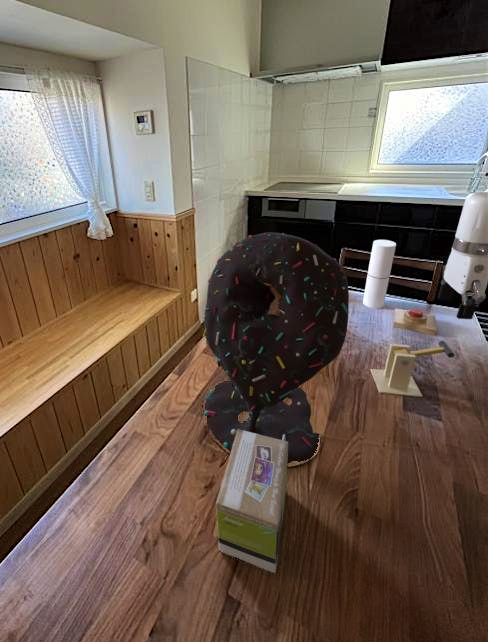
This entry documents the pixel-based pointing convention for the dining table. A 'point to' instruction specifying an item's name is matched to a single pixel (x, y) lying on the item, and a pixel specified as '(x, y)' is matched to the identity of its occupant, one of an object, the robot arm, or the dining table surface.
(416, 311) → the lamp button
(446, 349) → the switch lever
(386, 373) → the switch bracket
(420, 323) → the button block
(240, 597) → the dining table surface
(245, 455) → the tea box
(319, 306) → the chocolate sprinkled donut
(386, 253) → the cylindrical container
